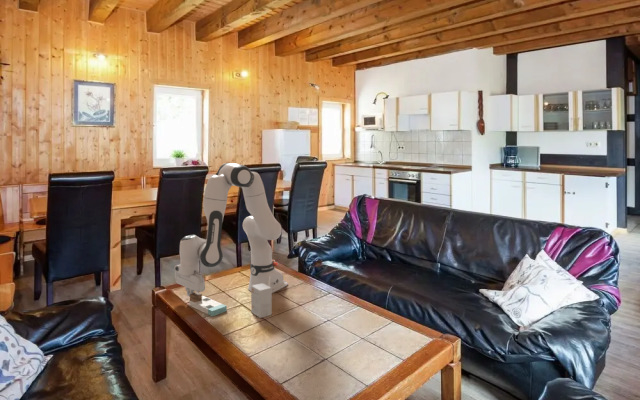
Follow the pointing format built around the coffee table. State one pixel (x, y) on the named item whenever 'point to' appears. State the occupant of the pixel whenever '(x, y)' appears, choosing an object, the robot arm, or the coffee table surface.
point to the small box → (261, 300)
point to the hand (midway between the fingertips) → (190, 296)
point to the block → (195, 297)
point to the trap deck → (209, 306)
